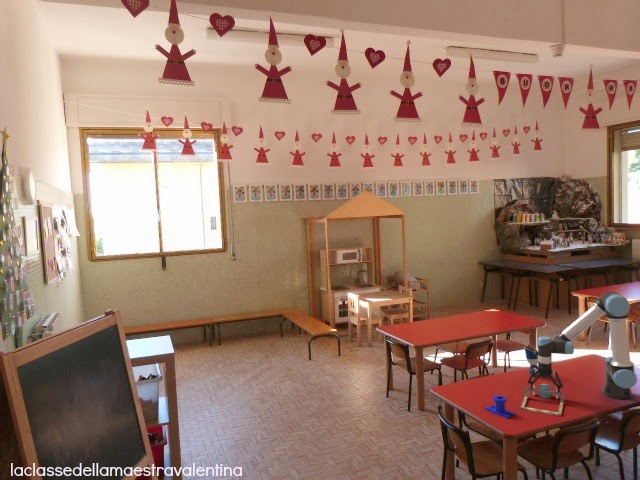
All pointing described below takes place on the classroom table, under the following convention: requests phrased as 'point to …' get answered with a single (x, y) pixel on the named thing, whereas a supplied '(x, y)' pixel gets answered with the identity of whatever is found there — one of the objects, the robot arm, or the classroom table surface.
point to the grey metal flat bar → (545, 392)
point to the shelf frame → (541, 410)
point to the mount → (500, 407)
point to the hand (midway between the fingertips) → (545, 396)
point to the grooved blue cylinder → (545, 387)
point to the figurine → (532, 358)
